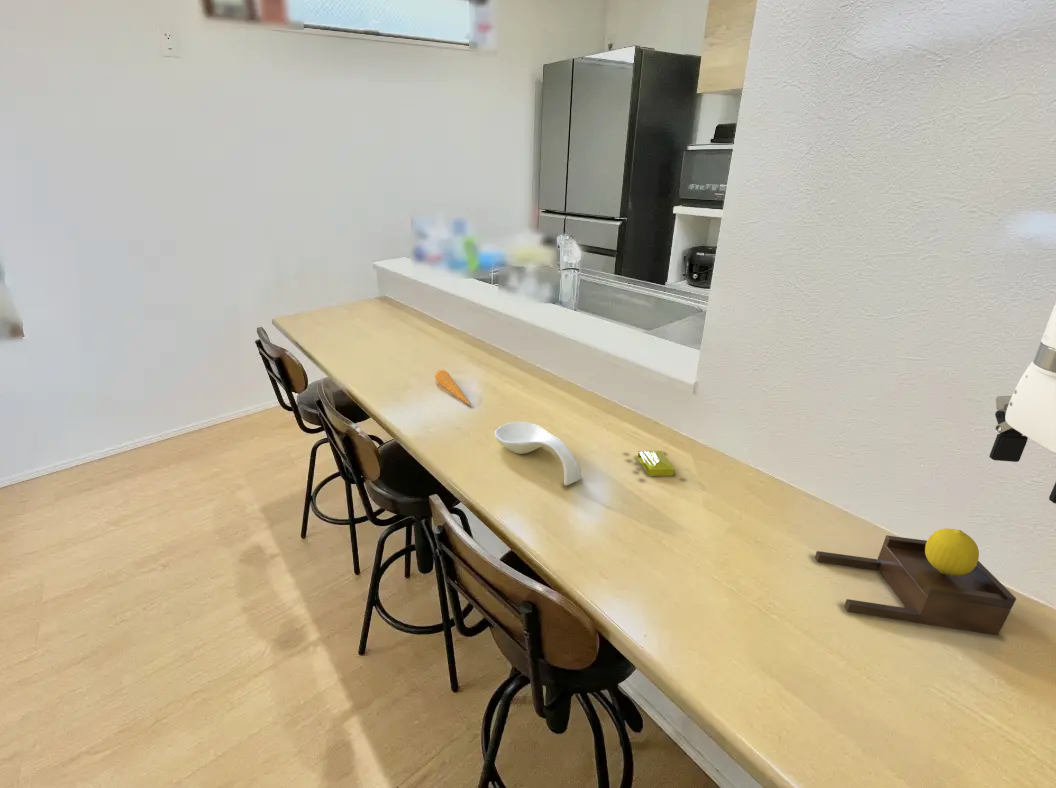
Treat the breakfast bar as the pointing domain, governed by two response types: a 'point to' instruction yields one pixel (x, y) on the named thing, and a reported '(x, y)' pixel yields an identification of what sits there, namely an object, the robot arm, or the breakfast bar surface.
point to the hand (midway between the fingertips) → (1032, 480)
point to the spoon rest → (538, 445)
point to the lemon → (952, 552)
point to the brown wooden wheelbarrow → (930, 589)
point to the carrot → (449, 384)
